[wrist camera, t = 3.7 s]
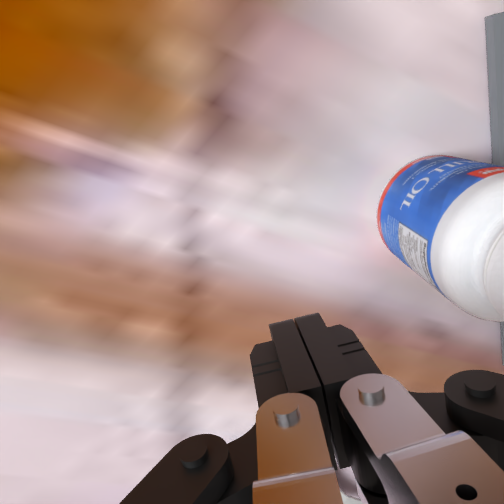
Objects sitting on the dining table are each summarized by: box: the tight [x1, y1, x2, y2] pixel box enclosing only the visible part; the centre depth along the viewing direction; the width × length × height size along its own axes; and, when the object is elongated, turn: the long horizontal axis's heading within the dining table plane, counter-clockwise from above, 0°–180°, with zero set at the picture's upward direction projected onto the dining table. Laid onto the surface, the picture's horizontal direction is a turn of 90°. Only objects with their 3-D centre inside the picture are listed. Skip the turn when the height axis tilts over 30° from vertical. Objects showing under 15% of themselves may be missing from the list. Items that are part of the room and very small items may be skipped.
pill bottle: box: [376, 155, 504, 322], centre depth 17 cm, size 6×5×10 cm
